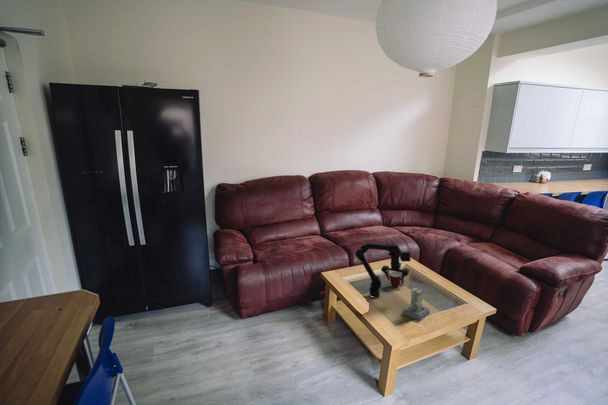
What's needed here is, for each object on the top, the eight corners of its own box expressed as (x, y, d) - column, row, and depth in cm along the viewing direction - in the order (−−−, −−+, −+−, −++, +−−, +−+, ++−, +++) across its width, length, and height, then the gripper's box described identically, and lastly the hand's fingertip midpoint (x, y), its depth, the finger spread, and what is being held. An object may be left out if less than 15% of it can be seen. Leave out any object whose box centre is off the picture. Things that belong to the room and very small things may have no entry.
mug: (403, 285, 231) (404, 273, 229) (403, 289, 224) (404, 277, 222) (390, 283, 235) (390, 272, 233) (389, 288, 227) (389, 276, 225)
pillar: (410, 310, 191) (411, 290, 188) (414, 307, 194) (415, 287, 192) (417, 313, 187) (418, 292, 185) (421, 310, 190) (422, 290, 188)
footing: (403, 313, 191) (403, 308, 191) (412, 307, 199) (412, 302, 198) (420, 321, 182) (420, 315, 182) (429, 313, 190) (429, 308, 189)
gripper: (411, 258, 209) (411, 279, 212) (385, 255, 219) (385, 275, 222) (407, 264, 200) (407, 285, 202) (380, 260, 210) (381, 280, 212)
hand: (395, 281), depth 210 cm, fingers open, 9 cm apart
